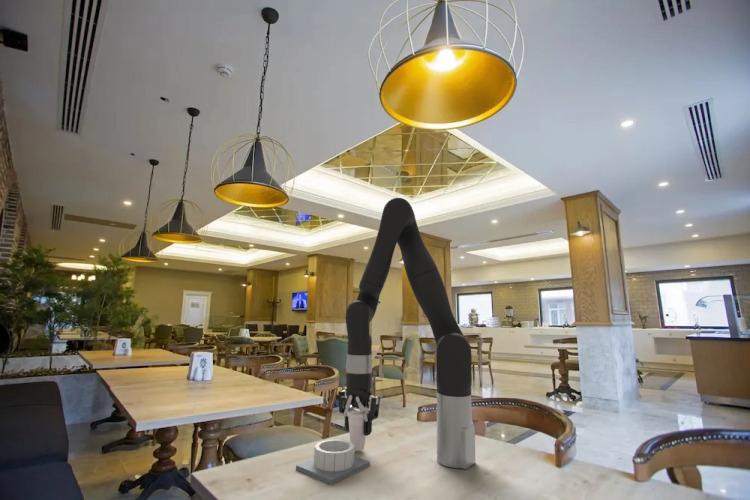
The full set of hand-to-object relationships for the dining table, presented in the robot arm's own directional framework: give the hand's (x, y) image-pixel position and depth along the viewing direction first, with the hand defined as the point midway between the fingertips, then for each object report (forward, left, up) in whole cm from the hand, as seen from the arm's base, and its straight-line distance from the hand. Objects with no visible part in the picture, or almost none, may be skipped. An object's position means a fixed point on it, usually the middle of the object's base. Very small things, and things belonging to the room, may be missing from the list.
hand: (357, 432), depth 104 cm
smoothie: (0, 0, -4) cm, 4 cm away
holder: (-3, +12, -5) cm, 13 cm away
